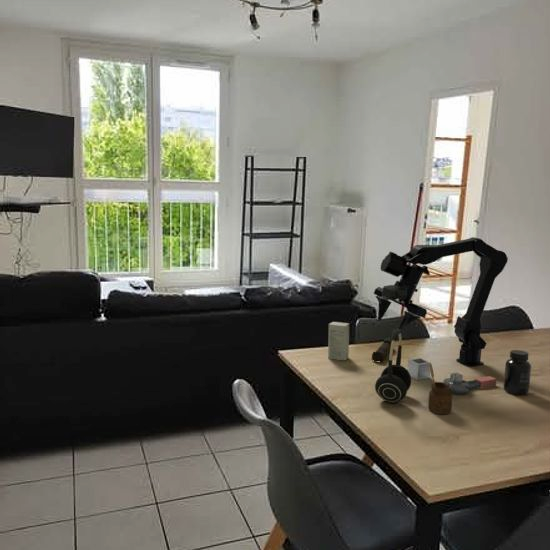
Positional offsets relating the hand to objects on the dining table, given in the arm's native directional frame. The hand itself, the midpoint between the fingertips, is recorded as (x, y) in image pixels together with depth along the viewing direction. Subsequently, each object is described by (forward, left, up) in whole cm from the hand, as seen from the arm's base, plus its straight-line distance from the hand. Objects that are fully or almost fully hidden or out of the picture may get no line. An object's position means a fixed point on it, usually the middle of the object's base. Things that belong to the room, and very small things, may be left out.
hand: (388, 325), depth 171 cm
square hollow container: (-3, +12, -14) cm, 19 cm away
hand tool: (-5, -10, -14) cm, 18 cm away
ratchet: (-12, +25, -14) cm, 31 cm away
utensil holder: (+8, +34, -14) cm, 38 cm away
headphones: (+15, +23, -14) cm, 31 cm away
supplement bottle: (-23, +32, -14) cm, 42 cm away
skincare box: (+12, -12, -14) cm, 22 cm away
